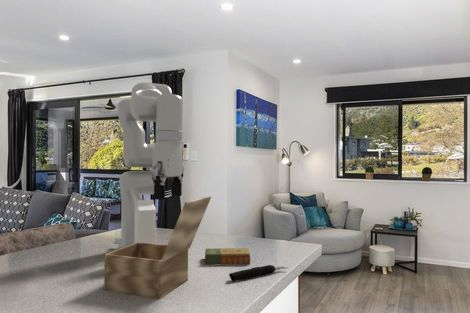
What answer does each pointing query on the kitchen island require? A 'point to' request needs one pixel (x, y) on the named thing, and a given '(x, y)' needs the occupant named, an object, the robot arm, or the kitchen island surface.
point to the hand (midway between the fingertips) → (168, 197)
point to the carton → (227, 256)
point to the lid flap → (186, 227)
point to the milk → (145, 222)
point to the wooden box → (144, 270)
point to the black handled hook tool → (254, 272)
